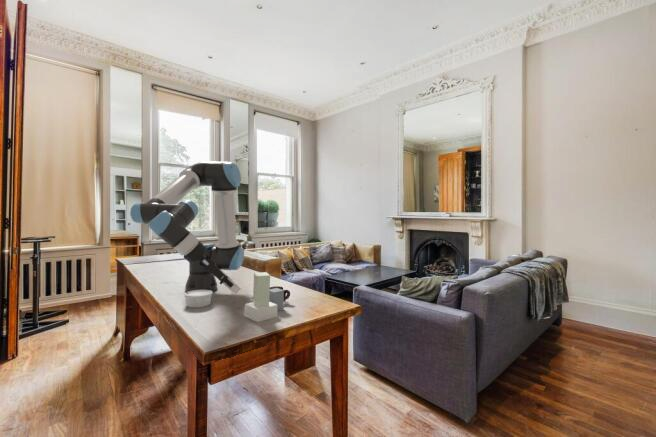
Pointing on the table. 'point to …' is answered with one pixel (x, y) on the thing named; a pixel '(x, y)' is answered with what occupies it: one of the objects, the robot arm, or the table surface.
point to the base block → (260, 311)
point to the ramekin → (198, 298)
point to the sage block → (261, 289)
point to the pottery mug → (284, 292)
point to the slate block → (277, 297)
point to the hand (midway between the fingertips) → (234, 286)
